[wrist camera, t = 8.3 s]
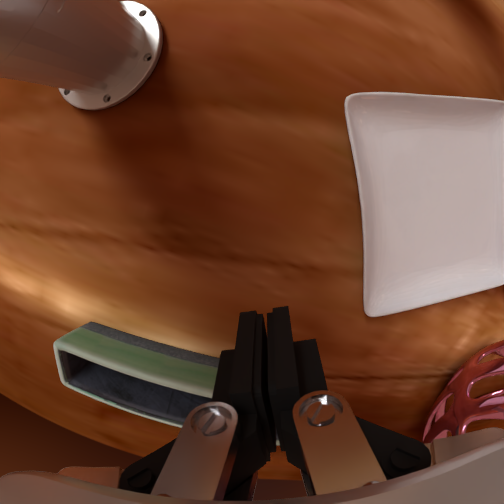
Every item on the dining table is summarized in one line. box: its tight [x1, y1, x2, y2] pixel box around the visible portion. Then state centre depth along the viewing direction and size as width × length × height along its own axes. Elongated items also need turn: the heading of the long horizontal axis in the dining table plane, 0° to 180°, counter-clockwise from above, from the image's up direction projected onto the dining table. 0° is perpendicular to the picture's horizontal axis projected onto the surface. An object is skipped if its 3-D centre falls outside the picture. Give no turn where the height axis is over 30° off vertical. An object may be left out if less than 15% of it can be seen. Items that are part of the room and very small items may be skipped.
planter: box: [53, 322, 280, 445], centre depth 31 cm, size 28×7×7 cm, turn 77°
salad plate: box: [345, 92, 504, 317], centre depth 25 cm, size 21×21×3 cm
